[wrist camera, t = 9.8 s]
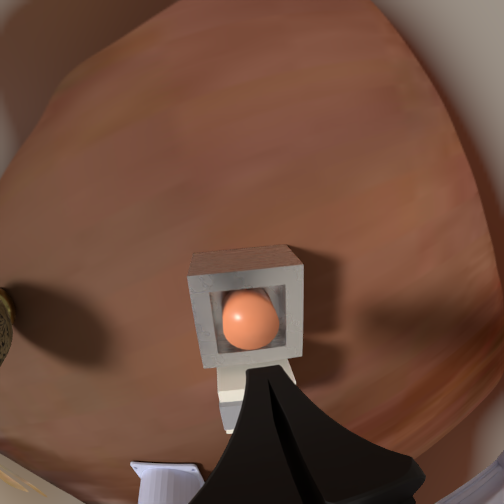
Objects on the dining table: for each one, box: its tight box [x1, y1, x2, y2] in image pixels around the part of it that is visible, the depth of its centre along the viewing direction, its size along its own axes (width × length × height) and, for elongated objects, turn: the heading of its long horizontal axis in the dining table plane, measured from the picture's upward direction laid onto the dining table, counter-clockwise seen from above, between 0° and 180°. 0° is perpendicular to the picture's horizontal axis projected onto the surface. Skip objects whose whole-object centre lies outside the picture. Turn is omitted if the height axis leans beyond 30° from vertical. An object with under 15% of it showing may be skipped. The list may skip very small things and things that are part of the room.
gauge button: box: [222, 287, 279, 350], centre depth 16 cm, size 3×3×2 cm
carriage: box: [217, 359, 296, 434], centre depth 18 cm, size 4×5×6 cm
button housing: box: [187, 244, 304, 368], centre depth 17 cm, size 6×6×4 cm
